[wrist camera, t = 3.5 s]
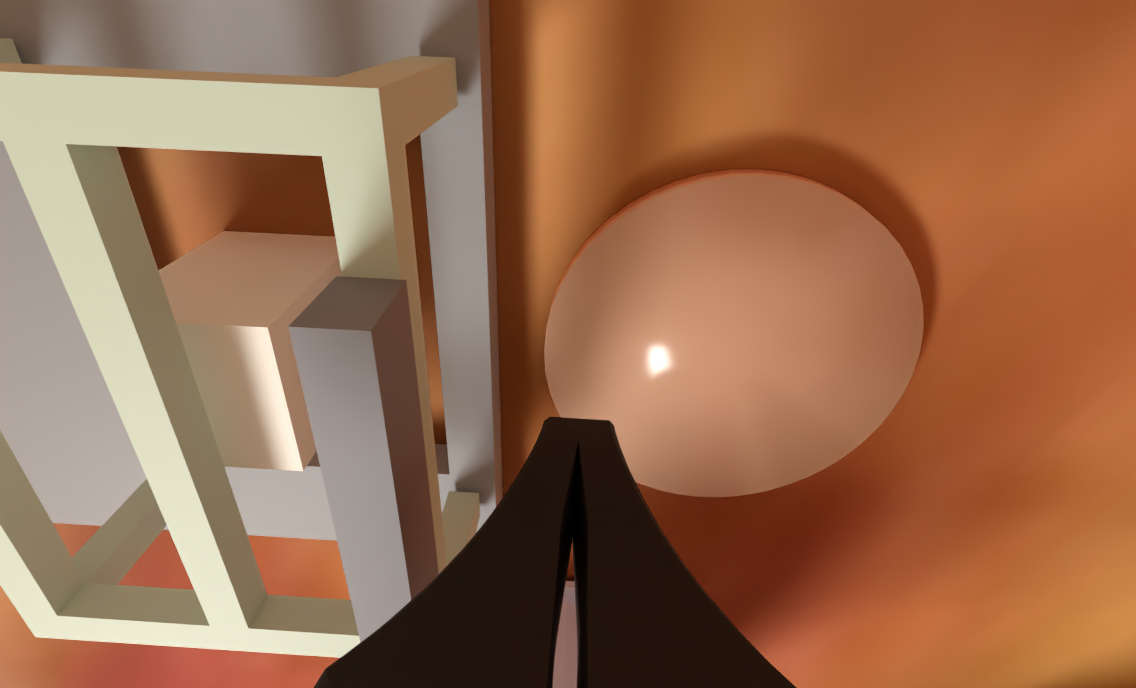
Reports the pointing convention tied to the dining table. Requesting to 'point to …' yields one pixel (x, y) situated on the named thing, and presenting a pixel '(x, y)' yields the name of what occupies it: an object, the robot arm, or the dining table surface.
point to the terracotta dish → (735, 331)
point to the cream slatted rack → (165, 379)
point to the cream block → (250, 338)
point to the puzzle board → (276, 47)
